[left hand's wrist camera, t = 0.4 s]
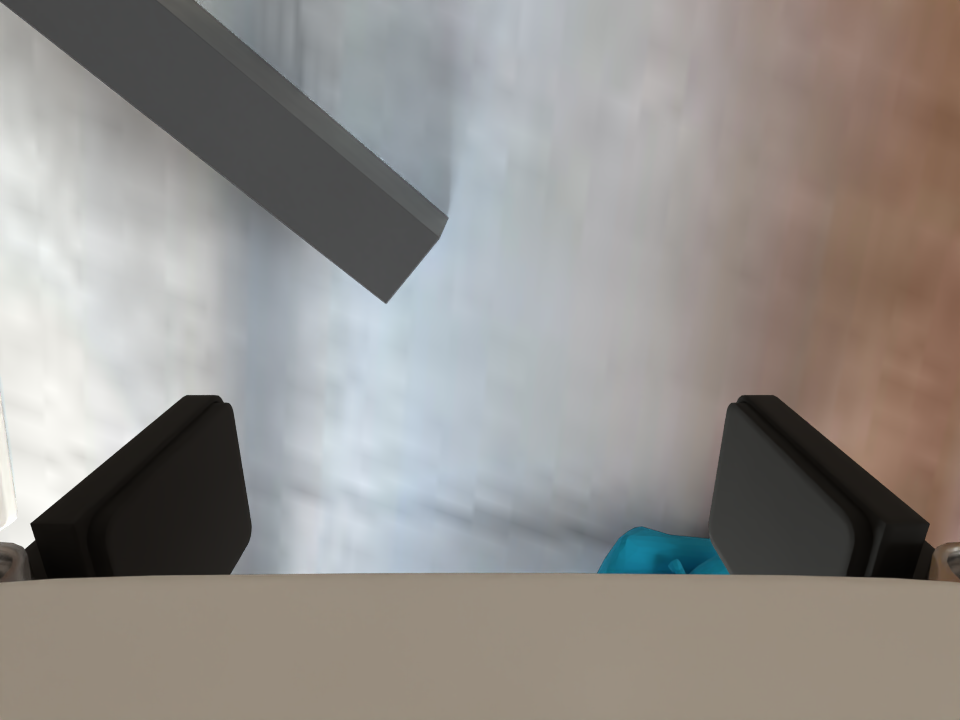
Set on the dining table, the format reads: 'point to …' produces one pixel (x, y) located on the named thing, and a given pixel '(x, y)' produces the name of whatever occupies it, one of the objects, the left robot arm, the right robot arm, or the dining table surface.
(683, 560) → the toy
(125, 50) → the beam
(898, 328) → the dining table surface
